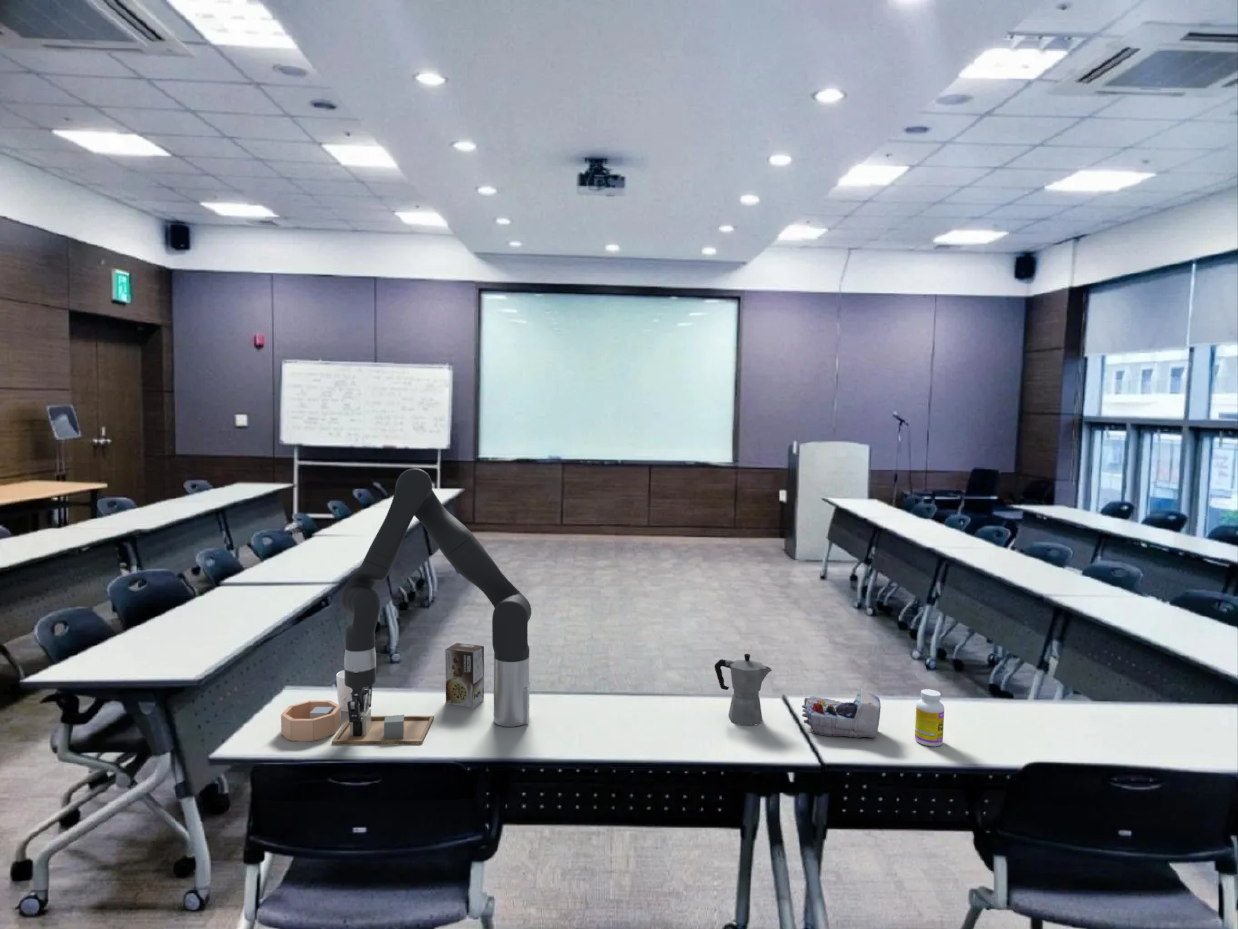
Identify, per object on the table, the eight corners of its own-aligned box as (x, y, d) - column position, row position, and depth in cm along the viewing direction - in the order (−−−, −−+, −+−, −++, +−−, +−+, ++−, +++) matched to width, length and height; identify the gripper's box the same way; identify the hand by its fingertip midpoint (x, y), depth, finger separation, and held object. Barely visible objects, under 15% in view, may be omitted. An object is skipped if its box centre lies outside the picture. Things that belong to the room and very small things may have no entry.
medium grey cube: (404, 731, 194) (404, 714, 193) (403, 738, 190) (403, 721, 189) (385, 733, 193) (385, 716, 192) (384, 740, 188) (384, 722, 188)
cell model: (884, 702, 192) (803, 697, 196) (884, 744, 193) (802, 738, 197) (877, 684, 205) (800, 680, 209) (876, 724, 206) (800, 718, 209)
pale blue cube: (333, 726, 196) (333, 707, 195) (327, 732, 192) (327, 713, 191) (315, 726, 196) (315, 706, 195) (309, 732, 192) (309, 713, 191)
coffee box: (484, 701, 216) (485, 645, 215) (473, 710, 210) (473, 652, 209) (456, 697, 219) (456, 642, 218) (444, 705, 213) (444, 648, 212)
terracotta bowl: (345, 722, 200) (345, 700, 200) (329, 743, 187) (329, 720, 187) (294, 722, 200) (294, 700, 199) (275, 743, 187) (274, 720, 186)
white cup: (361, 715, 205) (360, 678, 205) (331, 714, 205) (331, 677, 205) (371, 704, 213) (371, 668, 212) (343, 703, 213) (342, 668, 213)
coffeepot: (772, 716, 210) (774, 652, 208) (767, 729, 201) (769, 662, 199) (717, 708, 215) (718, 645, 213) (709, 720, 206) (711, 655, 205)
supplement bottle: (940, 749, 190) (942, 699, 190) (912, 743, 194) (914, 693, 193) (944, 740, 196) (947, 691, 195) (917, 734, 200) (919, 686, 199)
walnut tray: (434, 720, 202) (434, 715, 202) (422, 746, 187) (422, 740, 187) (351, 721, 201) (351, 715, 201) (331, 746, 186) (331, 741, 186)
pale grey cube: (371, 728, 195) (370, 709, 195) (366, 735, 191) (366, 715, 191) (355, 728, 195) (355, 709, 195) (349, 735, 191) (349, 715, 190)
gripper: (353, 656, 199) (353, 720, 200) (336, 674, 185) (336, 744, 186) (382, 656, 199) (382, 720, 200) (367, 675, 185) (367, 744, 186)
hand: (360, 731), depth 193 cm, fingers closed on pale grey cube, 4 cm apart
